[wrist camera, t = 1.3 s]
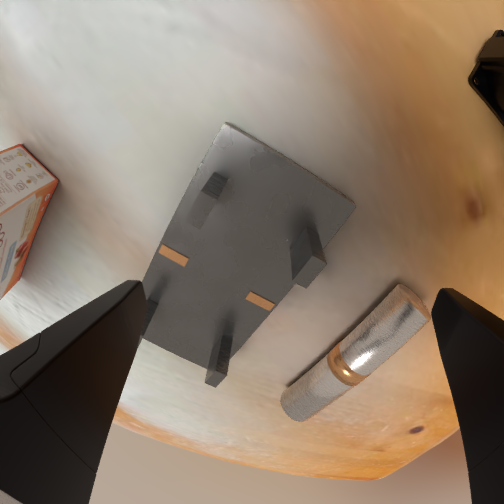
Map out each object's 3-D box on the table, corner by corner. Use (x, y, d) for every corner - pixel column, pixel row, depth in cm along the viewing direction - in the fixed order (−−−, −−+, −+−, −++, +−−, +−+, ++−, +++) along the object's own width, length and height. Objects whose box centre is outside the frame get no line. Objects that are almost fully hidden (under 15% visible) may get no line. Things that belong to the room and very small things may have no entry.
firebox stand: (352, 201, 21) (373, 232, 16) (218, 365, 29) (210, 406, 25) (226, 122, 19) (211, 131, 14) (126, 320, 27) (106, 357, 23)
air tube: (392, 275, 24) (403, 303, 20) (423, 299, 24) (436, 328, 20) (282, 382, 31) (277, 412, 27) (312, 397, 31) (310, 427, 27)
